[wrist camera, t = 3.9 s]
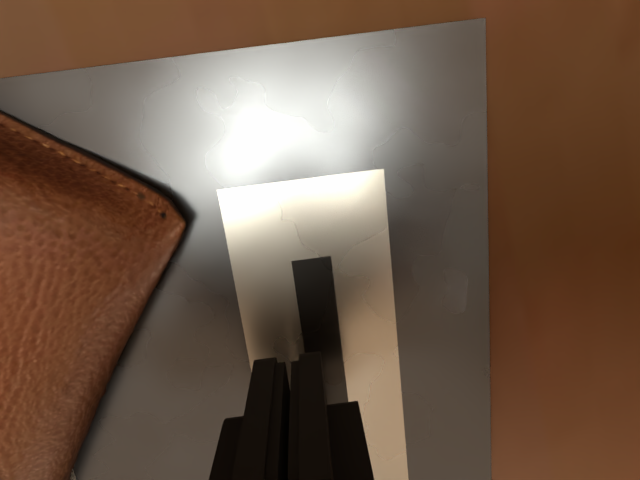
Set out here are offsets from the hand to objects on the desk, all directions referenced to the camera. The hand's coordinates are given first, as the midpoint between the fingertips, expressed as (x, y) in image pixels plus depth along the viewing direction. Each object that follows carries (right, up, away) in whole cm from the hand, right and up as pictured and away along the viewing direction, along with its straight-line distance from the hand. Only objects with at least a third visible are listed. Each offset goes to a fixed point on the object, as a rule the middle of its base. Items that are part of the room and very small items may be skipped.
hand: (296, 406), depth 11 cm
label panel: (-5, 0, +1) cm, 5 cm away
